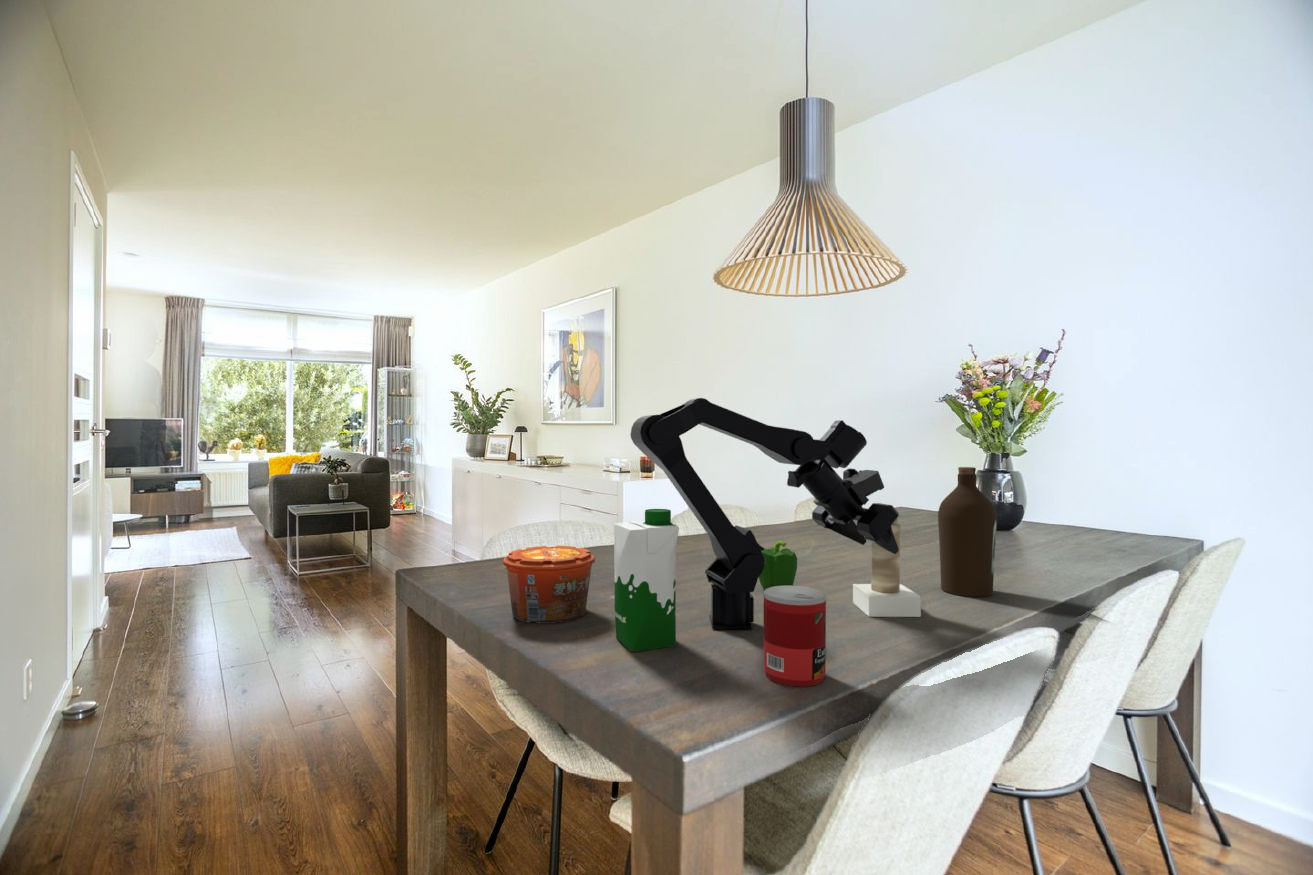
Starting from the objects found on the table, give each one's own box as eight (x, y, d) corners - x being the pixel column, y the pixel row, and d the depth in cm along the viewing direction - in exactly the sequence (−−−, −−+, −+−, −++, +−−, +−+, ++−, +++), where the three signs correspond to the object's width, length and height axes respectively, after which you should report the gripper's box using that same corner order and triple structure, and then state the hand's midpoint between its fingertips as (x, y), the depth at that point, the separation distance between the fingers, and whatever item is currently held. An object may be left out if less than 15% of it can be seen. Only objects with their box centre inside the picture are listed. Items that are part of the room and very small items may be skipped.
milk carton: (684, 646, 93) (684, 512, 92) (627, 655, 89) (627, 516, 89) (660, 629, 101) (660, 506, 101) (607, 637, 97) (607, 509, 97)
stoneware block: (868, 616, 108) (868, 596, 108) (852, 602, 117) (852, 583, 117) (920, 616, 108) (920, 596, 108) (900, 602, 117) (900, 584, 117)
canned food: (827, 690, 77) (827, 601, 77) (762, 684, 79) (762, 598, 79) (823, 667, 85) (823, 586, 85) (764, 662, 86) (764, 583, 86)
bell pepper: (751, 584, 131) (751, 536, 131) (789, 583, 132) (789, 536, 132) (762, 594, 123) (762, 543, 123) (802, 593, 124) (802, 543, 124)
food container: (612, 615, 109) (612, 554, 109) (527, 633, 99) (527, 566, 99) (567, 596, 121) (567, 541, 121) (488, 610, 112) (488, 551, 112)
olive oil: (945, 596, 121) (945, 468, 121) (931, 583, 131) (932, 465, 131) (1004, 599, 119) (1005, 469, 119) (986, 586, 129) (986, 466, 129)
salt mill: (886, 594, 109) (886, 520, 109) (865, 588, 113) (866, 517, 113) (905, 591, 111) (906, 518, 111) (884, 585, 116) (884, 515, 116)
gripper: (889, 456, 101) (944, 522, 105) (826, 453, 119) (875, 509, 123) (846, 505, 99) (904, 571, 102) (789, 494, 117) (839, 550, 120)
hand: (880, 547), depth 112 cm, fingers open, 9 cm apart
